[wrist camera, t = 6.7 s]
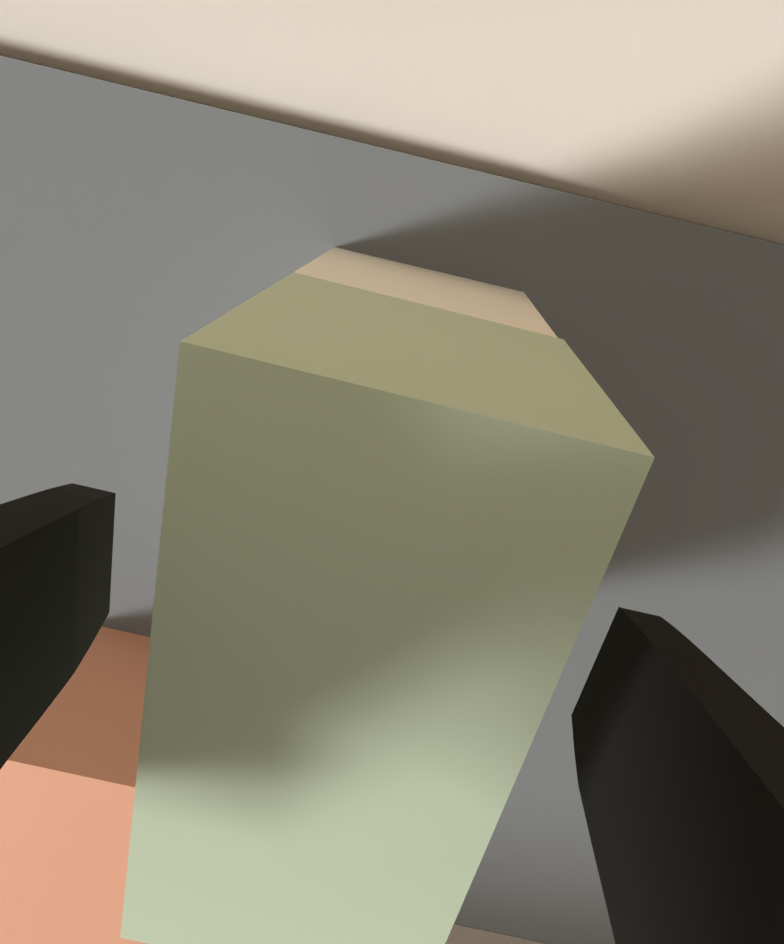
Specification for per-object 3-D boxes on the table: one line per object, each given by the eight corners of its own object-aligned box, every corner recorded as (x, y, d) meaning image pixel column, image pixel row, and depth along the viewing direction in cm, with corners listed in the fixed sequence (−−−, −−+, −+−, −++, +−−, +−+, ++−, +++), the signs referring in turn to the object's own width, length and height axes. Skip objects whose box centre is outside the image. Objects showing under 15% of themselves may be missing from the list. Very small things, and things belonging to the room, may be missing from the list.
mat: (634, 947, 23) (638, 963, 22) (-68, 797, 22) (-79, 810, 21) (1023, 303, 14) (1043, 307, 13) (-141, 22, 13) (-162, 16, 13)
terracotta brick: (198, 848, 21) (139, 1008, 17) (74, 822, 21) (-14, 976, 17) (226, 654, 18) (162, 793, 14) (81, 621, 18) (-27, 752, 14)
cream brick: (431, 604, 17) (428, 740, 13) (278, 570, 17) (225, 695, 13) (523, 291, 14) (558, 339, 10) (334, 247, 14) (287, 275, 10)
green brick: (426, 740, 13) (420, 1001, 9) (224, 692, 13) (120, 937, 9) (563, 339, 10) (654, 457, 5) (293, 271, 9) (180, 341, 5)
